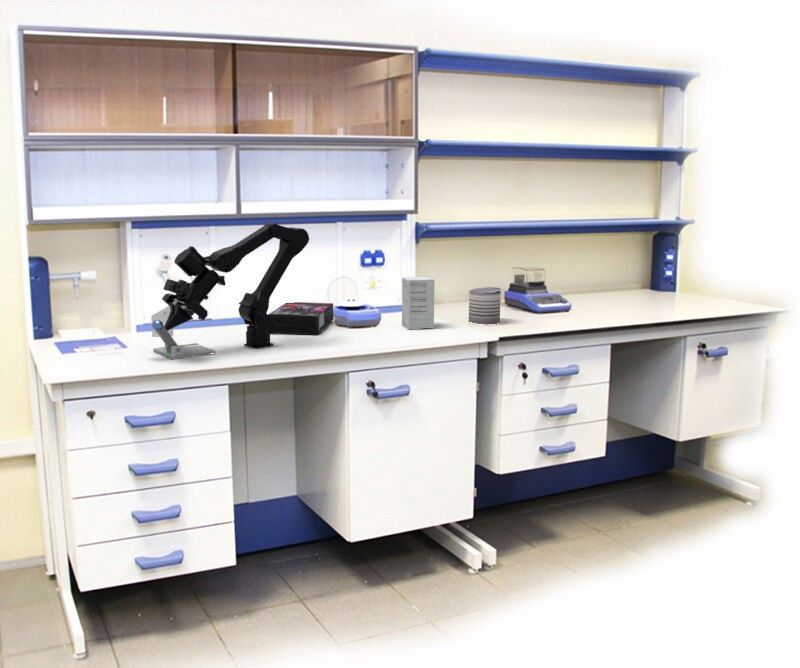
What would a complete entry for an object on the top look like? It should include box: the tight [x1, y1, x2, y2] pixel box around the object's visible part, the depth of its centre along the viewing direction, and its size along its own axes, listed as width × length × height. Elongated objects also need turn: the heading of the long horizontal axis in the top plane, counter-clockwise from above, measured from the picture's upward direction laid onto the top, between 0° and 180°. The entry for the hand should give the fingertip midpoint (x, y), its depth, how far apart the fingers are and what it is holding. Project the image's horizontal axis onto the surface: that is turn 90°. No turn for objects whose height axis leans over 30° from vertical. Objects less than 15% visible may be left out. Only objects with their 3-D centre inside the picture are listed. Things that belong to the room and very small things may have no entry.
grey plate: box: [150, 305, 174, 338], centre depth 269 cm, size 4×10×9 cm, turn 92°
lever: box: [151, 320, 178, 351], centre depth 236 cm, size 3×3×10 cm
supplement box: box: [401, 276, 435, 330], centre depth 287 cm, size 10×9×17 cm
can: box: [468, 286, 502, 325], centre depth 298 cm, size 11×11×12 cm
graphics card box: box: [267, 301, 335, 336], centre depth 286 cm, size 17×7×27 cm
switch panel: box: [152, 342, 216, 360], centre depth 244 cm, size 13×13×4 cm
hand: (165, 329), depth 236 cm, fingers closed, pressing on lever
